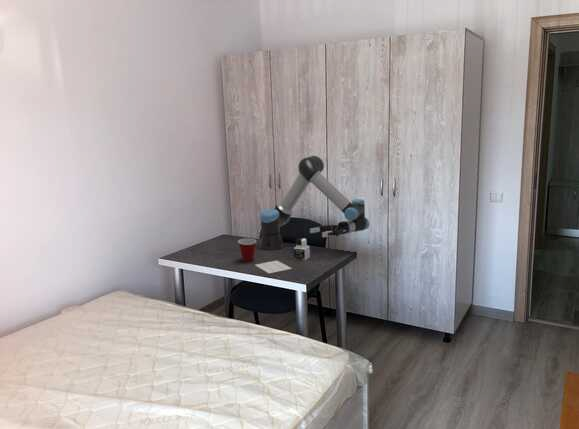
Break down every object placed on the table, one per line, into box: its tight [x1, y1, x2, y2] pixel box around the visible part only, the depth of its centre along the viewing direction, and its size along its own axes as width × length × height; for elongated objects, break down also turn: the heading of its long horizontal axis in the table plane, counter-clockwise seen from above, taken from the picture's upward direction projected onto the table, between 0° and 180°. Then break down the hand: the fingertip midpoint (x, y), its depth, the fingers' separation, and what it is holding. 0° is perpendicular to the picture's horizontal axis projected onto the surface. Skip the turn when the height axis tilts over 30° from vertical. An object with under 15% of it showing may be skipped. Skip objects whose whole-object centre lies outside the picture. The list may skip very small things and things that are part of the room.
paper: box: [254, 259, 292, 274], centre depth 264 cm, size 18×14×1 cm
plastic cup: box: [237, 238, 257, 263], centre depth 277 cm, size 11×11×12 cm
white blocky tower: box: [293, 237, 311, 262], centre depth 276 cm, size 7×7×12 cm
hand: (316, 233), depth 278 cm, fingers open, 13 cm apart
